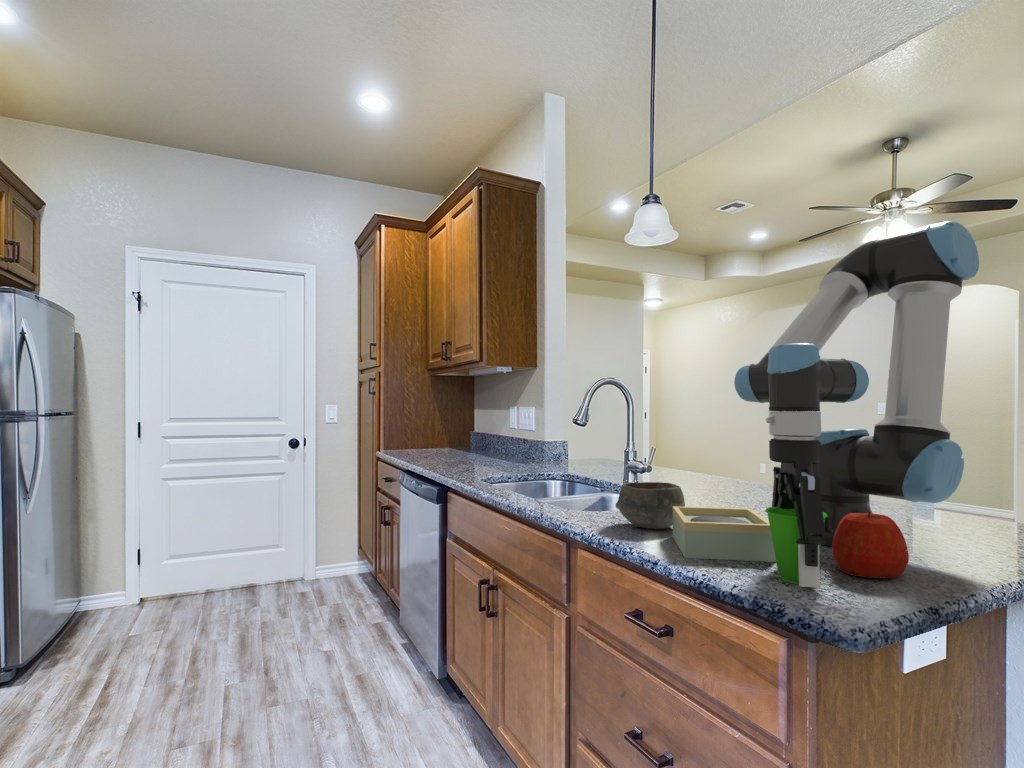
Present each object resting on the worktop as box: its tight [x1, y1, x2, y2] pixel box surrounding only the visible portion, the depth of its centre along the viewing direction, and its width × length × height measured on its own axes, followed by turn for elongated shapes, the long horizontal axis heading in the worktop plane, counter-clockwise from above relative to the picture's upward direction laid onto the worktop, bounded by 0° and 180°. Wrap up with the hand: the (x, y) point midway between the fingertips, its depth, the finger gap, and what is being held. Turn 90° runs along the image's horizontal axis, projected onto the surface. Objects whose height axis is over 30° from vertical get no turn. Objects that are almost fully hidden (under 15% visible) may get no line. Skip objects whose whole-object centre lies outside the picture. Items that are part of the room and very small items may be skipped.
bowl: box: [614, 481, 686, 530], centre depth 124 cm, size 14×15×10 cm
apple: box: [831, 511, 910, 579], centre depth 90 cm, size 11×11×11 cm
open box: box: [672, 506, 776, 563], centre depth 106 cm, size 16×16×6 cm
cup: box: [764, 506, 828, 585], centre depth 87 cm, size 9×9×11 cm
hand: (796, 575), depth 87 cm, fingers open, 10 cm apart
